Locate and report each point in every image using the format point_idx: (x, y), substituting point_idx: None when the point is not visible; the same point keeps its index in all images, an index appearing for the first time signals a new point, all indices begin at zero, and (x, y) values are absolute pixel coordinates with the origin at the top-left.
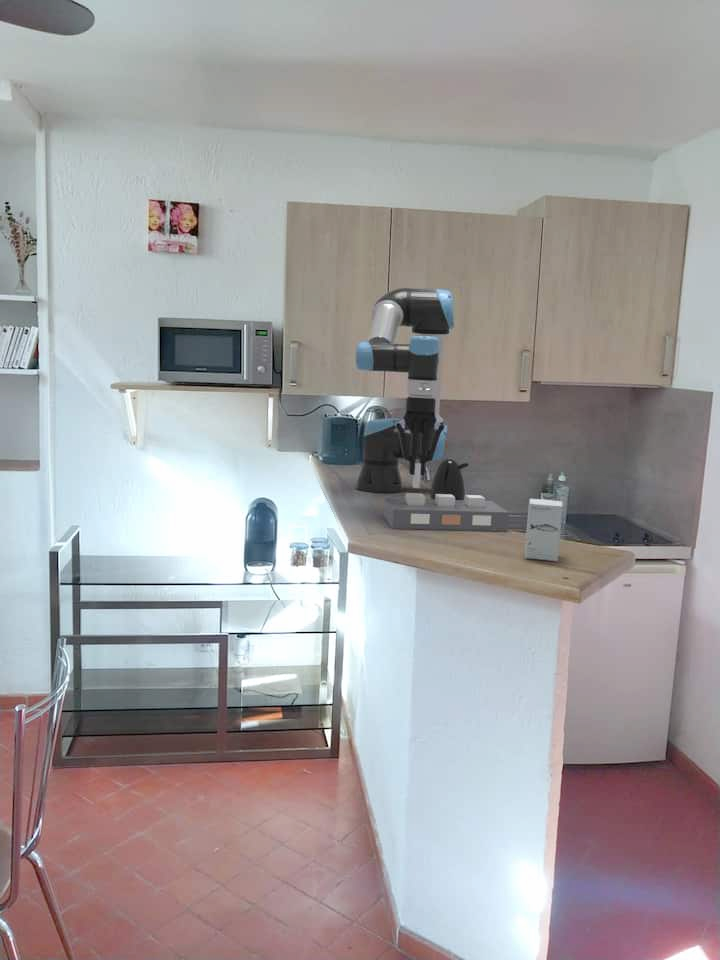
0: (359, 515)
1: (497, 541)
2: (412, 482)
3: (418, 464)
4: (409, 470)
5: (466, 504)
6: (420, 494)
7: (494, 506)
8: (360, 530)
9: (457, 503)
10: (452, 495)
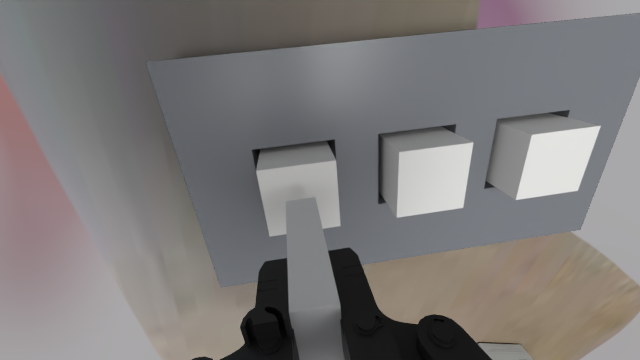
0: (74, 63)
1: (461, 292)
2: (286, 214)
3: (323, 357)
4: (259, 287)
5: (498, 161)
6: (325, 185)
7: (595, 143)
8: (148, 281)
9: (478, 118)
10: (467, 167)
